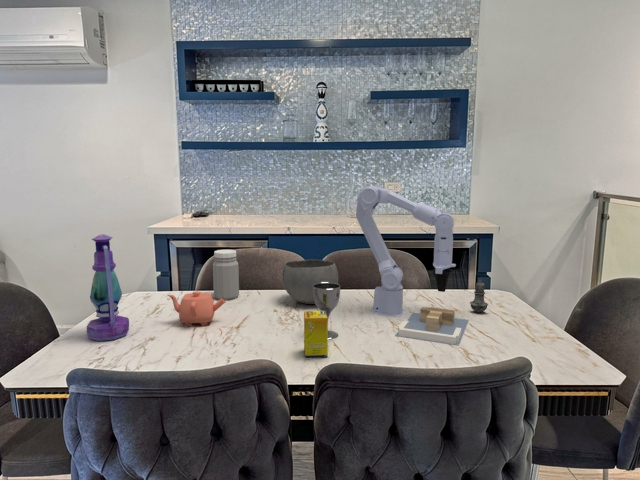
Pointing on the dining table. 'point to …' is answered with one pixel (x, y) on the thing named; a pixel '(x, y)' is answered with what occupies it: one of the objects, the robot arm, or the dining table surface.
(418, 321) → the board
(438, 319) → the t block
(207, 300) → the teapot
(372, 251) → the robot arm
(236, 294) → the jar
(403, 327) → the dock
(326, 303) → the silver goblet
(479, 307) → the salt shaker
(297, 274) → the bowl
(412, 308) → the dining table surface
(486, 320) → the dining table surface
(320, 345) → the supplement box
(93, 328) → the lantern
